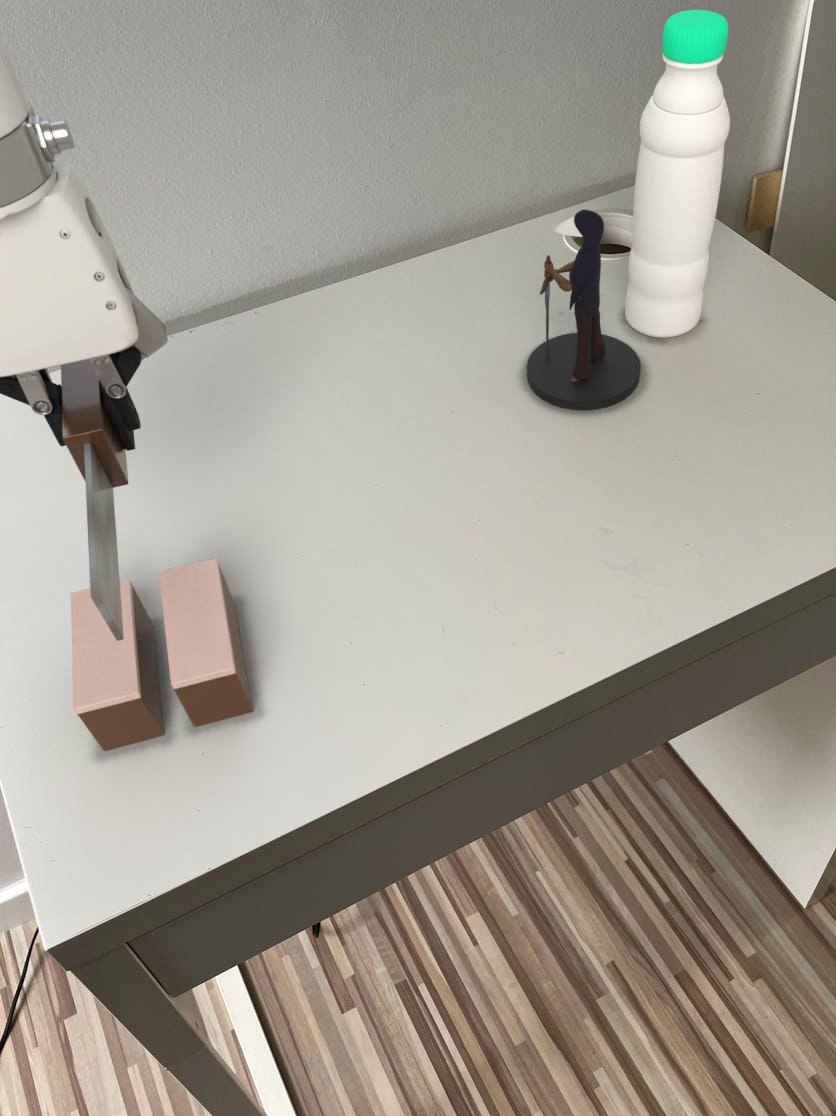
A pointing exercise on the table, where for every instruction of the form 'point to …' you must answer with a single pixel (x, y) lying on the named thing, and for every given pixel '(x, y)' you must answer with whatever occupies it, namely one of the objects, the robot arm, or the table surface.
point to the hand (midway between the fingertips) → (105, 441)
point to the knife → (96, 481)
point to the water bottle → (678, 178)
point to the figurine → (582, 333)
